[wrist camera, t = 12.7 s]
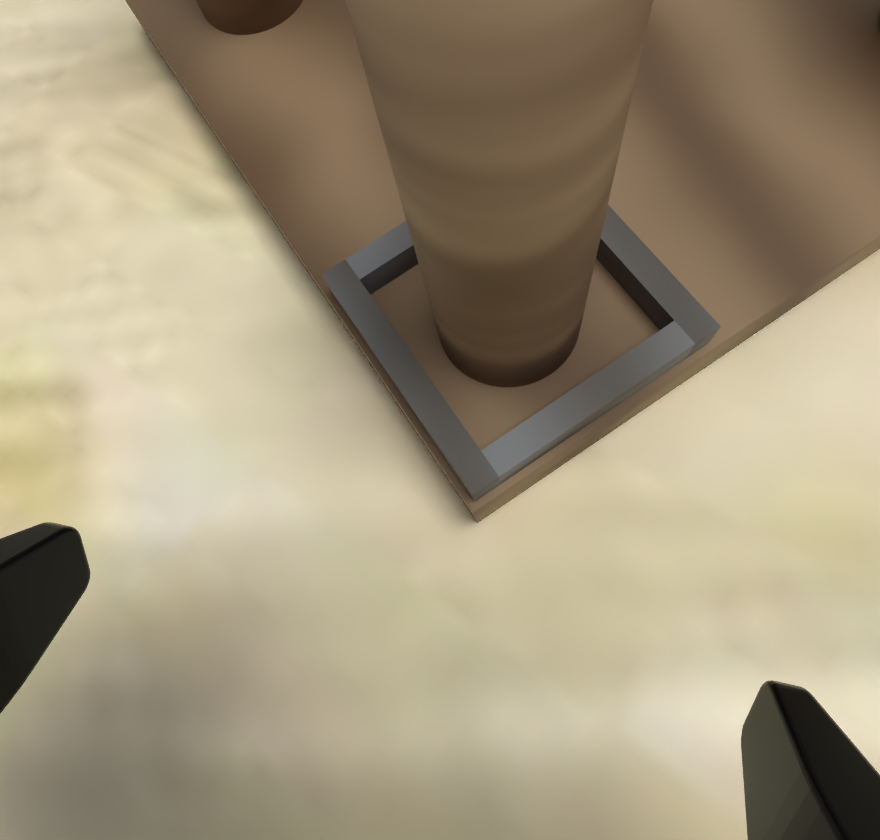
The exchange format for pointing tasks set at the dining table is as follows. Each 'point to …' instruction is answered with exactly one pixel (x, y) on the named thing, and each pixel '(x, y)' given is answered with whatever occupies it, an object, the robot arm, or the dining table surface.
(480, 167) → the stool leg
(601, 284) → the peg board
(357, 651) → the dining table surface
